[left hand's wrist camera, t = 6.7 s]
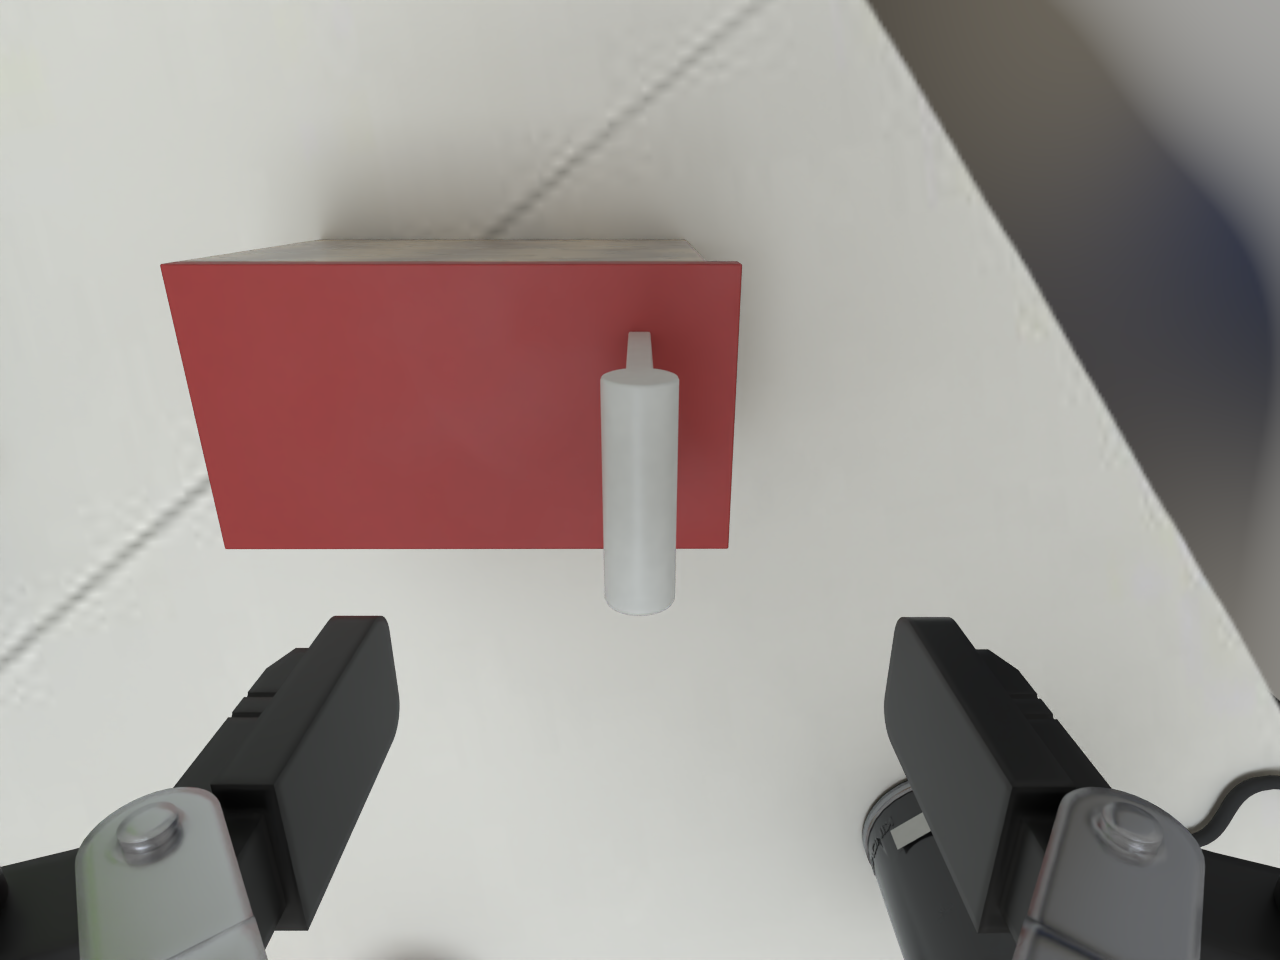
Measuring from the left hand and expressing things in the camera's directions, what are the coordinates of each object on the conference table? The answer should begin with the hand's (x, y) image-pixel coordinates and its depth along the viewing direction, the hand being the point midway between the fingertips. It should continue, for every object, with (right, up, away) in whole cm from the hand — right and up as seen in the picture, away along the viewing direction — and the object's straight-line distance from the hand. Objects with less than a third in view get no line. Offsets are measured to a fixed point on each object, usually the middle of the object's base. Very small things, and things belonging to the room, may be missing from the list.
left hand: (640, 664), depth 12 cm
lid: (-6, +5, +14) cm, 16 cm away
